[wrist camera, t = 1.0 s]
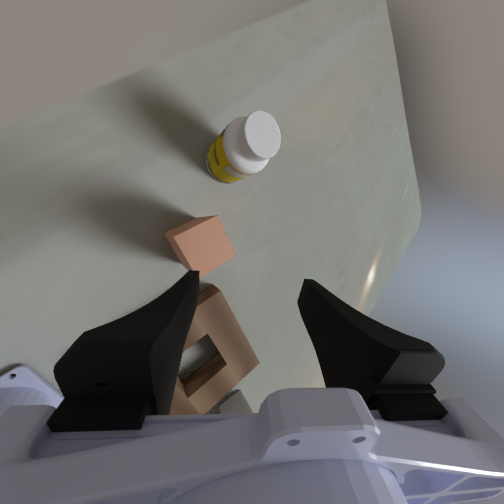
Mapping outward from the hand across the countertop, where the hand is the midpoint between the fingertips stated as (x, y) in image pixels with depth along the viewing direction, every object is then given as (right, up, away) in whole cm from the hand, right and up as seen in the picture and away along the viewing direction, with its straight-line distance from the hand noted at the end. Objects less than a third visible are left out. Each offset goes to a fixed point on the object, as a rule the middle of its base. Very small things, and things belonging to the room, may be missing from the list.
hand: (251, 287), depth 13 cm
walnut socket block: (-8, -12, +14) cm, 20 cm away
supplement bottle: (-4, +14, +13) cm, 20 cm away
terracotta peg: (-8, +4, +12) cm, 15 cm away
